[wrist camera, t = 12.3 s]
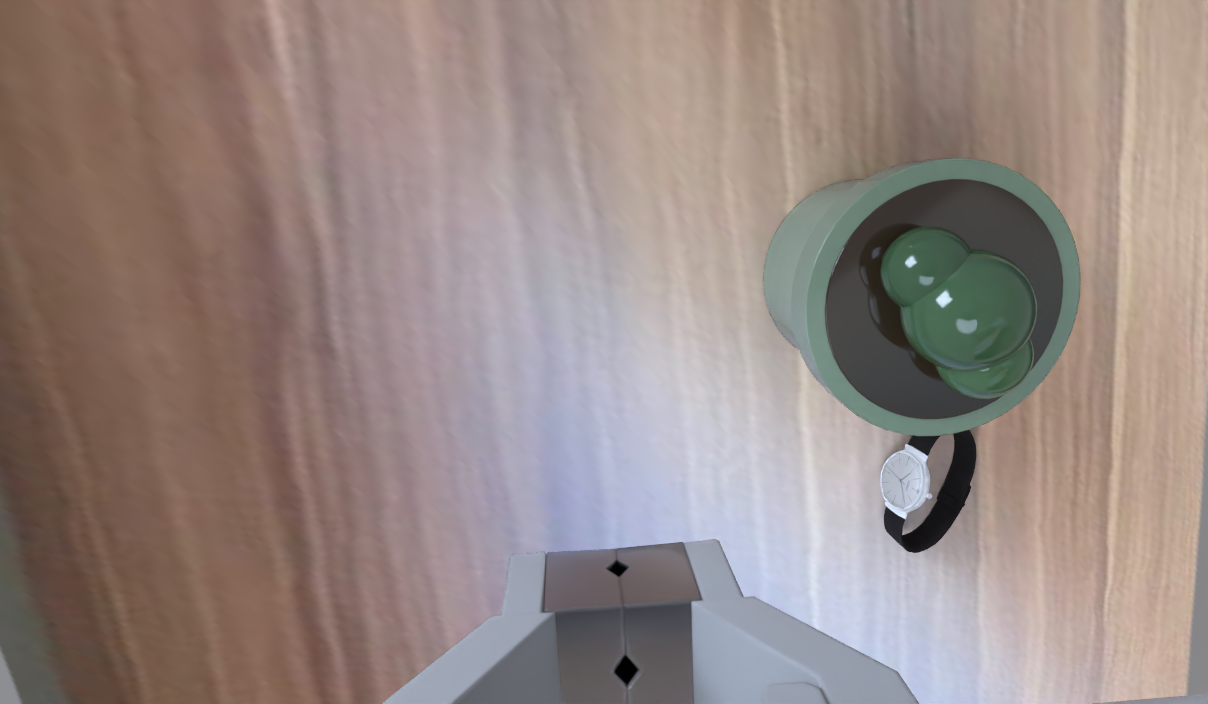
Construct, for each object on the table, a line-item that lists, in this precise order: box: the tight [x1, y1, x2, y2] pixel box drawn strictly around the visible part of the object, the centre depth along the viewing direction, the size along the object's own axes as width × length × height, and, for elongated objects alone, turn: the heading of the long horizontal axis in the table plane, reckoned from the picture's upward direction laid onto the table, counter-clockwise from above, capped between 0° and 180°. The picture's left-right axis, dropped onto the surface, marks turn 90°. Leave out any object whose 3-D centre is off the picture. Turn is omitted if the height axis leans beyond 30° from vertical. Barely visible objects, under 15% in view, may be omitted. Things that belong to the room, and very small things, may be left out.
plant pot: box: [763, 158, 1080, 436], centre depth 33 cm, size 12×12×14 cm
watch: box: [880, 430, 976, 553], centre depth 41 cm, size 8×5×4 cm, turn 166°
